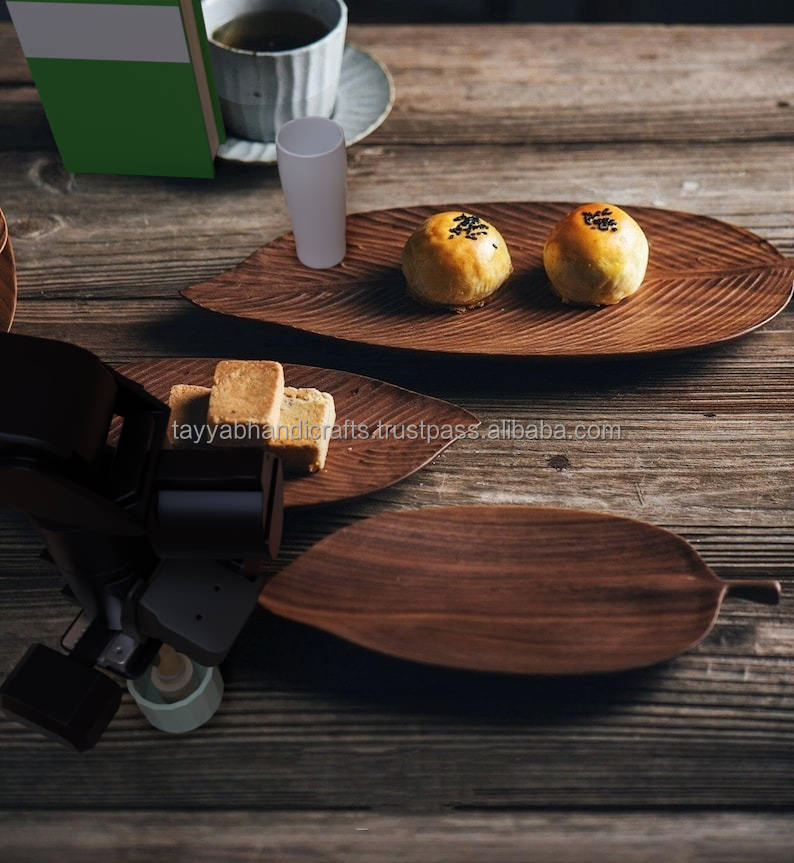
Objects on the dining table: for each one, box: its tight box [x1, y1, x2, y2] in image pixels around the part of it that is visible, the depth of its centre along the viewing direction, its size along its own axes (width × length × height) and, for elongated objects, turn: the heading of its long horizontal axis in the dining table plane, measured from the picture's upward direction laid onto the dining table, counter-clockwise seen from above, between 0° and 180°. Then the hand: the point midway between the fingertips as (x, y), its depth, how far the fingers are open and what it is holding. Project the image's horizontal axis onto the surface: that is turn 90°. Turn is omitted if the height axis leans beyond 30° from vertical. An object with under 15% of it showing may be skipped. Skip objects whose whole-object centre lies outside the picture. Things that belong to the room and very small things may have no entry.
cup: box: [125, 649, 225, 734], centre depth 68 cm, size 6×6×5 cm
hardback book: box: [4, 0, 228, 179], centre depth 102 cm, size 18×7×24 cm, turn 85°
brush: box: [151, 643, 200, 704], centre depth 65 cm, size 3×3×10 cm
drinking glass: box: [274, 115, 348, 270], centre depth 94 cm, size 7×7×15 cm
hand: (160, 650), depth 64 cm, fingers closed on brush, 2 cm apart
